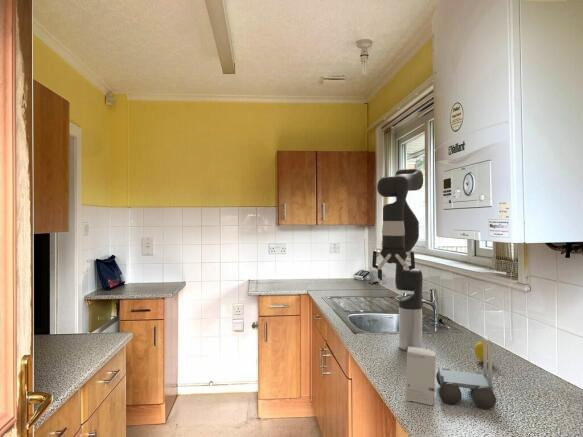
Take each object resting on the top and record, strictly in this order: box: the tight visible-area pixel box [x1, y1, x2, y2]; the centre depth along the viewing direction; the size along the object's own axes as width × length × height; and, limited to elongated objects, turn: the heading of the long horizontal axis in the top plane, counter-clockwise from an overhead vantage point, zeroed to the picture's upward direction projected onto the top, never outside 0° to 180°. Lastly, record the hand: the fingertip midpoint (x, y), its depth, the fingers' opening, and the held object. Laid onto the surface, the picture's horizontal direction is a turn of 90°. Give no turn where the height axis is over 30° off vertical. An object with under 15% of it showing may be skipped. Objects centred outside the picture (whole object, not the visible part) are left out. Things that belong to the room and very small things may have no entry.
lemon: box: [474, 340, 488, 363], centre depth 141 cm, size 6×6×8 cm
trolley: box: [435, 335, 497, 410], centre depth 114 cm, size 12×15×18 cm
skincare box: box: [405, 347, 437, 406], centre depth 112 cm, size 8×6×15 cm
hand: (393, 280), depth 129 cm, fingers open, 8 cm apart
